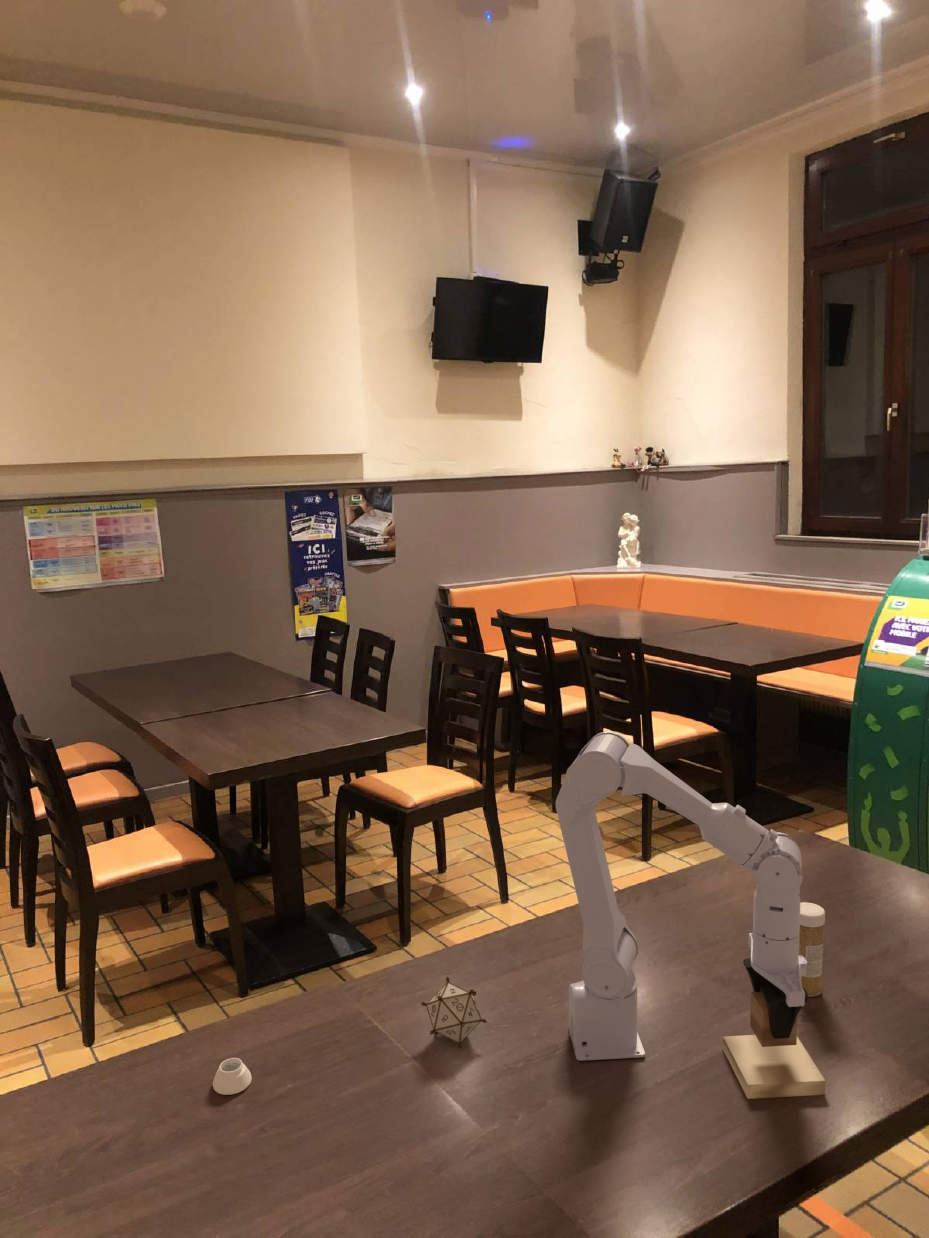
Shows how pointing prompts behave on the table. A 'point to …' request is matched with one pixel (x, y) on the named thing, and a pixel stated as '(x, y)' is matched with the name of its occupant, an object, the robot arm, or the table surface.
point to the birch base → (772, 1068)
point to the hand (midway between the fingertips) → (773, 1024)
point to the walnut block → (767, 1024)
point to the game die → (453, 1012)
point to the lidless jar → (231, 1077)
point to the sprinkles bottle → (811, 946)
